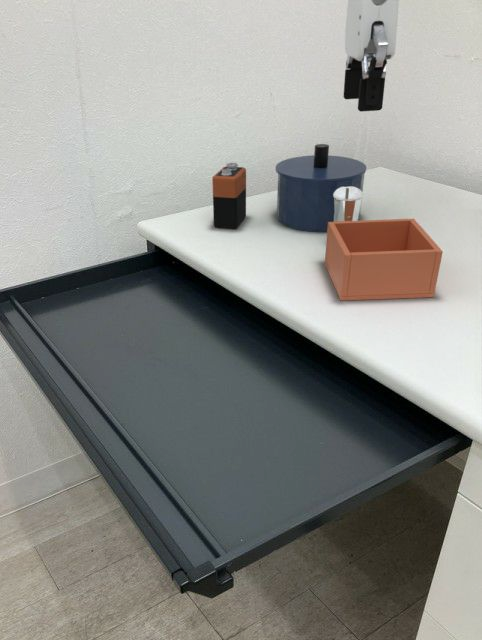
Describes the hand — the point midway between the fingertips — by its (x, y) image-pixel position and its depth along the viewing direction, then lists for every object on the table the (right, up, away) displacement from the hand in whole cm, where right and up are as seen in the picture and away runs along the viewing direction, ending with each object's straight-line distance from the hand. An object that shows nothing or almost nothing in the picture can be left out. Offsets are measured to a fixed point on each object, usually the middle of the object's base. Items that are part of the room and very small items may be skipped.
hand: (361, 104), depth 85 cm
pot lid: (-2, -3, +19) cm, 19 cm away
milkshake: (0, -18, +12) cm, 21 cm away
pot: (-2, -10, +23) cm, 25 cm away
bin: (+2, -25, +1) cm, 25 cm away
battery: (-18, -11, +23) cm, 31 cm away
